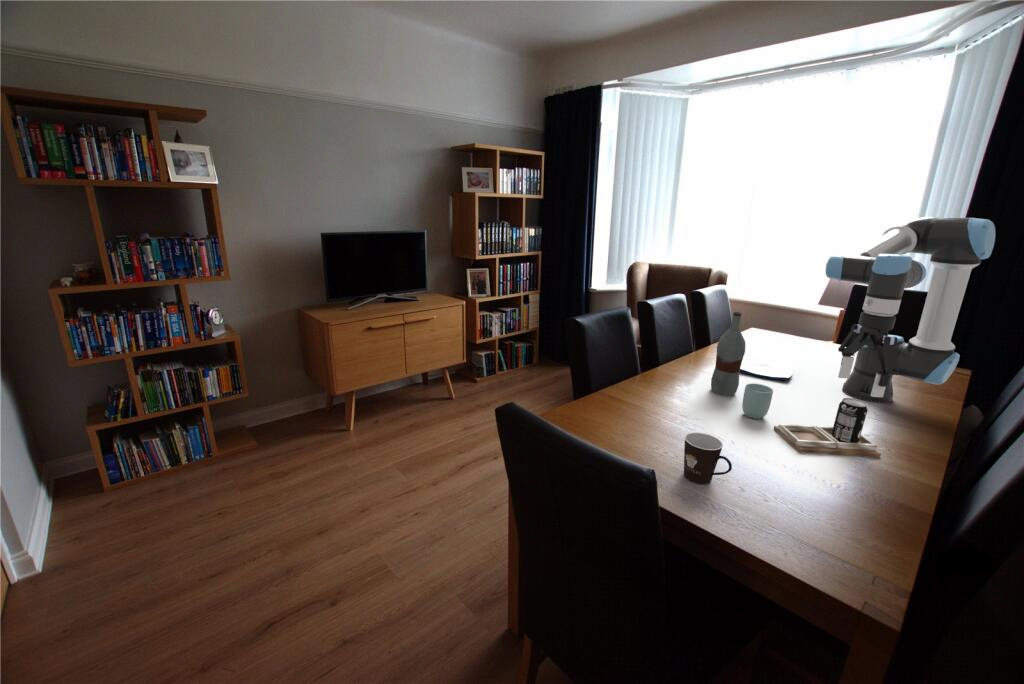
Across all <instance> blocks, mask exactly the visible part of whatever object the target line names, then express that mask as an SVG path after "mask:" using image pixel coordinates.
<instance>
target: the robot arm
mask: <svg viewBox="0 0 1024 684" xmlns="http://www.w3.org/2000/svg"><path fill="white" fill-rule="evenodd" d="M995 242H996V226H995V224H994V222H993V221H991V220H990V219H986V218H976V217H942V216H941V217H940V216H939V217H936V216H924V217H917V218H914V219H913V218H912V219H910V220H907V221H903V222H900V223H898V224H896V225H893V226H891V227H889V228H888V229H886V230H885V231H884V232H883V233H882V235H881V236H880V237H879V238H876V239H874V240H873V241H871V242H869V243H867V244H866V245H864V246H862V247H860V248H858V249H857V250H855V251H853V252H851V253H849V254H844V253H841V254H840V253H839V254H837V253H834V254H833V255H831V256H830V257H829V259H828V260H827V262H826V264H825V276H826V277H827V278H828V279H830V280H831V279H832V280H837V281H838V282H839V281H841V282H851V283H857V284H866V285H867V289H866V293H865V298H864V302H863V305H862V310H863V311H861V312H860V314H859V315H860V316H859V319H858V324H856V323H854V324H852V326H851V328H850V331H849V333H848V335H846V337H845V338H844V340H843V341H842V343H841V344H840V346H839V347H838V349H837V350H838V352H841V356H842V357H841V362H840V369H839V372H838V376H837V378H838V379H846V380H845V381H844V383H843V385H842V388H841V391H843V393H844V394H847V395H848V396H851V397H853V398H855V399H858V400H859V399H860V400H861V401H867V402H872V403H873V402H874V403H881V404H882V403H883V404H884V403H890V402H891V403H892V401H893V398H894V387H893V376H900V377H904V378H908V379H912V380H916V381H919V382H923V383H924V384H925V383H927V384H933V385H935V386H936V385H937V386H938V385H942V384H944V383H945V382H947V380H949V378H950V377H951V375H952V374H953V372H954V371H955V369H956V367H957V365H958V364H959V361H960V357H961V355H960V354H959V353H958V352H955V350H956V345H955V344H954V343H953V342H952V337H953V333H954V330H955V326H956V323H957V320H958V316H959V313H960V310H961V306H962V303H963V300H964V297H965V294H966V290H967V286H968V282H969V280H970V275H971V272H972V270H973V269H974V268H976V267H977V266H979V265H980V264H981V262H982V260H985V259H986V260H987V259H989V258H990V257H991V255H992V252H993V250H994V245H995ZM908 253H910V254H923V255H931V256H930V261H929V262H931V264H932V265H933V266H934V269H933V272H932V276H931V280H930V283H929V287H928V291H927V294H926V295H927V296H926V297H925V303H924V306H923V309H922V313H921V316H920V317H921V318H920V320H919V324H918V329H917V332H916V335H915V336H913V337H912V338H910V339H909V340H908V342H905V340H904V337H903V336H900V335H894V334H889V332H890V331H892V330H893V329H894V326H895V323H896V320H897V316H896V315H898V313H899V310H900V306H901V303H902V298H903V294H904V291H905V289H908V288H909V289H910V288H914V287H916V286H918V285H919V284H921V283H922V282H923V281H924V280H925V278H926V277H927V270H926V267H925V266H924V264H923V263H921V262H920V261H917V260H913V258H912V257H911V256H910V255H908ZM856 353H857V354H856ZM855 354H856V358H855ZM854 360H855V362H854Z"/></svg>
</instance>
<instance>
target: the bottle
mask: <svg viewBox="0 0 1024 684" xmlns="http://www.w3.org/2000/svg"><path fill="white" fill-rule="evenodd" d="M732 314H733V315H732V318H731V324H730V327H729V328H728V329H727V330H726V331H725V332H724V333H723V334H722V335H721V336H720V338H719V340H718V342H717V346H716V355H715V356H716V357H715V367H714V370H713V373H712V377H711V379H710V389H711V392H712V393H713V394H716V395H719V396H723V397H734V396H735V395H736V393H737V391H738V390H739V388H738V387H739V385H740V372H741V371H740V367H741V364H742V360H743V357H745V354H746V341H745V338H744V336H743V333H742V332H741V329H740V324H741V317H742V312H740V311H733V313H732Z"/></svg>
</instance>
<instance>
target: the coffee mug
mask: <svg viewBox="0 0 1024 684" xmlns="http://www.w3.org/2000/svg"><path fill="white" fill-rule="evenodd" d="M723 447H724V444H723V442H722V440H720V439H719V438H718V437H715V436H714V435H711V434H707V433H703V432H689V433H686V434H685V435H684V450H683V451H684V454H683V455H684V456H683V458H684V459H683V476H684V478H685V479H686V480H687V481H689V482H691V483H693V484H696V485H709V484H710V483H711V482H712V479H713V476H721V475H722V476H724V475H726V474H729V473H730V472H731V471H732V468H733V465H732V463H731V460H730V459H729V458H727V456H724V455H721V452H722V449H723ZM720 459H722V460H724V461H726V462H727V465H728V469H727V470H725V471H721V472H719V471H718V472H715V470H716V467H717V464H718V461H719V460H720Z"/></svg>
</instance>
